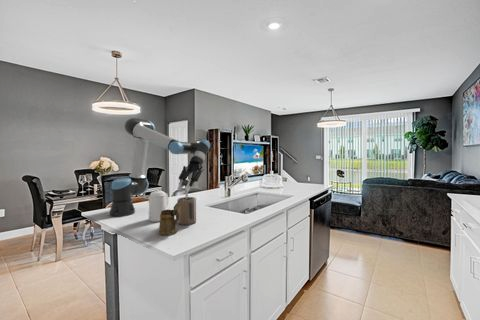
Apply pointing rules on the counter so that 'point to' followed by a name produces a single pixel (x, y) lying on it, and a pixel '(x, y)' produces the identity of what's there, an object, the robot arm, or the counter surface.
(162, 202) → the coffeepot
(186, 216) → the press carafe
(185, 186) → the plunger
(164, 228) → the wooden mug
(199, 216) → the counter surface
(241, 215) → the counter surface
